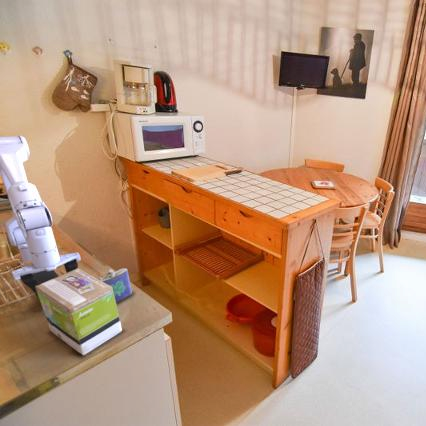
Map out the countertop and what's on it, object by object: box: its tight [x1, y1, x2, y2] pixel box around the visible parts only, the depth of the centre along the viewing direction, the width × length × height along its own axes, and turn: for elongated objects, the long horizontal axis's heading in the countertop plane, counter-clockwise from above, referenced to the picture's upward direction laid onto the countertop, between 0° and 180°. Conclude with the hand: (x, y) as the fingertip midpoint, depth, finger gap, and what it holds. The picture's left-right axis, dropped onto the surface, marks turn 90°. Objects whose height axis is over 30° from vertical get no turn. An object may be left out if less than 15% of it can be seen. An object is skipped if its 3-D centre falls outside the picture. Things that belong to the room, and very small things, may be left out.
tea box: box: [35, 267, 123, 356], centre depth 79 cm, size 15×10×15 cm
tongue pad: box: [32, 270, 60, 286], centre depth 97 cm, size 12×5×4 cm, turn 51°
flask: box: [97, 267, 133, 305], centre depth 92 cm, size 9×3×11 cm, turn 148°
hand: (55, 289), depth 91 cm, fingers open, 7 cm apart
